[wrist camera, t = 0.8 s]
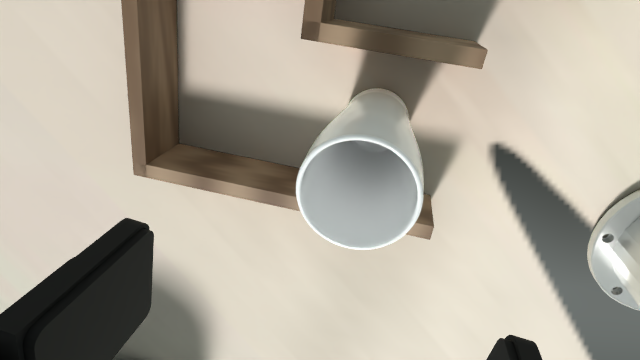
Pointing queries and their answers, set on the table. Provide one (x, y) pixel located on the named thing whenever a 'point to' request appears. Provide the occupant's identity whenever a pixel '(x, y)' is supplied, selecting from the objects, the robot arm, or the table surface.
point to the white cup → (363, 174)
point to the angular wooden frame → (226, 169)
